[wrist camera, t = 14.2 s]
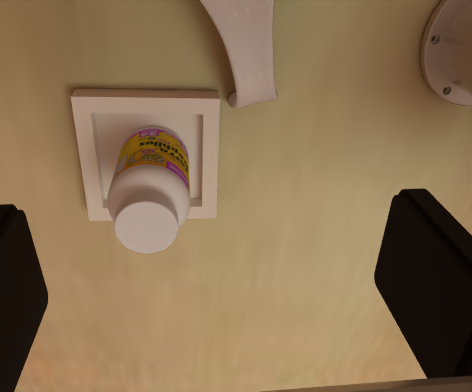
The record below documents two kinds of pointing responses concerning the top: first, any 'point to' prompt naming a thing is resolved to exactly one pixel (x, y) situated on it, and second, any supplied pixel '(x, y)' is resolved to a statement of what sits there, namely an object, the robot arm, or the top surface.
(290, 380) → the top surface
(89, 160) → the ceramic tray
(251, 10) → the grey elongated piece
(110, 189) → the supplement bottle
